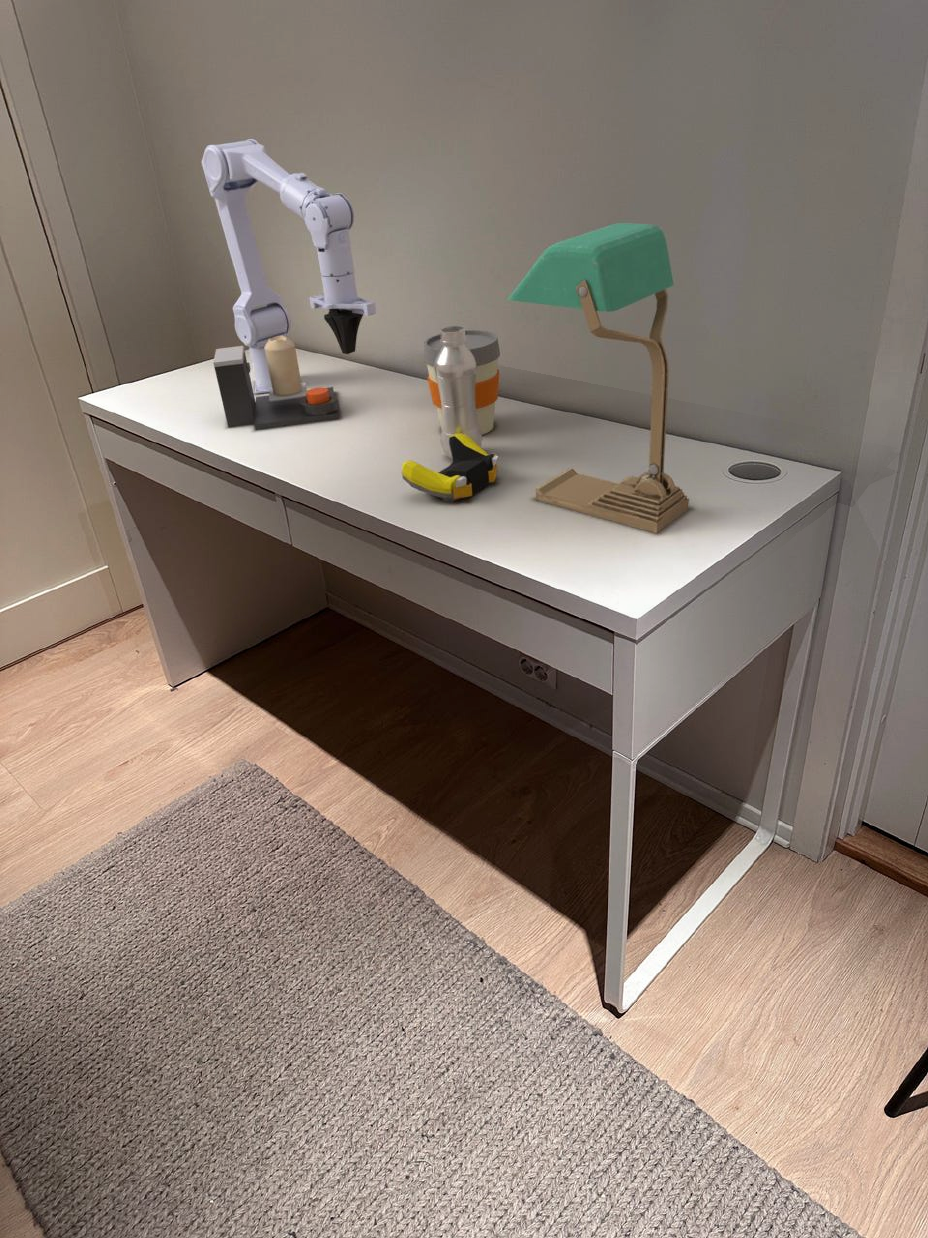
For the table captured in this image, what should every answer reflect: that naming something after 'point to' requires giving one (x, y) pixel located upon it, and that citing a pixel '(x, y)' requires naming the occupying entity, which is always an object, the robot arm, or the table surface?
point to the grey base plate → (293, 411)
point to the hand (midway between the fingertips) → (348, 352)
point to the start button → (317, 395)
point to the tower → (240, 386)
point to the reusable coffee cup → (486, 373)
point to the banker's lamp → (607, 281)
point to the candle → (283, 366)
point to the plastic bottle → (456, 387)
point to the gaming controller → (454, 471)
